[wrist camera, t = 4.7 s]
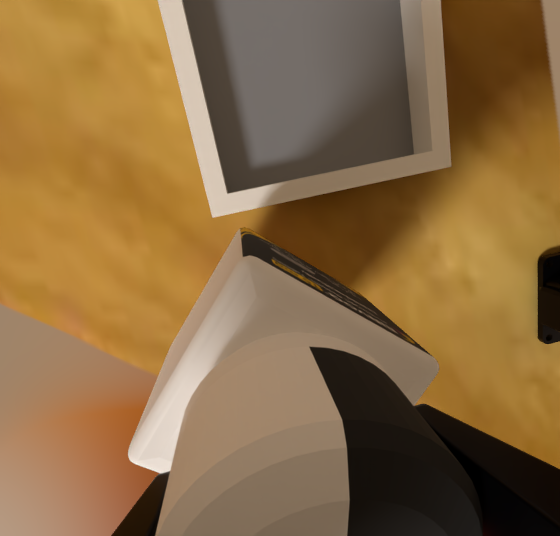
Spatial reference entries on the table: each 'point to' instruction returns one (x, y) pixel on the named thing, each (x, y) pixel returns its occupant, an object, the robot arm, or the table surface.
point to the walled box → (309, 94)
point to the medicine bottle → (297, 413)
